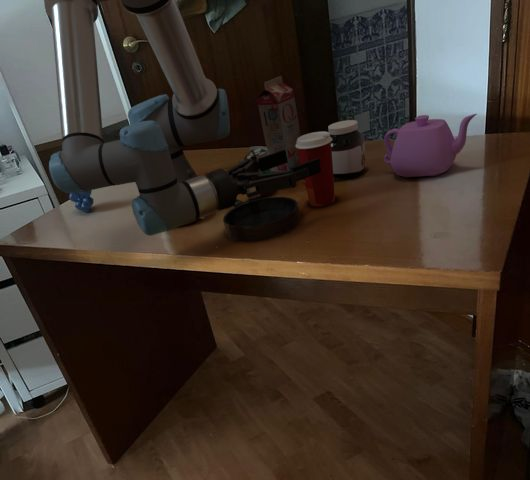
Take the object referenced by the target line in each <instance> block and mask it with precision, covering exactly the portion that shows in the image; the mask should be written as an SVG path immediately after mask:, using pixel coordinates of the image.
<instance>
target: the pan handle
mask: <svg viewBox="0 0 530 480" xmlns="http://www.w3.org/2000/svg"><path fill="white" fill-rule="evenodd" d="M247 202H250V201H249V200H244V201H242V200H239V199H237V198H236V203H235V205H234V206H233V208H235V207H237V206H239V205H241V204H244V203H247Z"/></svg>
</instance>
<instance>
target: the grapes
mask: <svg viewBox="0 0 530 480" xmlns="http://www.w3.org/2000/svg"><path fill="white" fill-rule="evenodd" d="M92 191H93V190H89V191H88V192H78V193H69V195H68V200H69V201H71V202H72V203H75V204H74V208H76V209H77V210H78V211H82V212H84V213H89V212H90V211H91V208H92V206H93V205H94V198H93V197H92V196H91V195H92Z"/></svg>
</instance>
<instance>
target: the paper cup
mask: <svg viewBox="0 0 530 480" xmlns="http://www.w3.org/2000/svg"><path fill="white" fill-rule="evenodd" d="M331 141H332V138H331V137H330V134H329V131H314V132H310V133H306V134H303V135H301V137H299V138H298V139H297V144H296V145H295V146H296V148H297V149H298V153H299V158H300V162H301V164H303V163H305V162H308V161H311V160H314V159H316V158H319V159H320V166H321V173H318V174H315V175H313V176H310V177H307V178H305V179H303V180H304V184H305V190H306V194H307V199H308V202H309V205H310V206H311V207H317V208H318V207H324V206H328V205H331V204H333V203H334V202H335V201H336V198H335V197H336V194H335V180H334V179H335V178H334V177H333V164H332V150H331Z"/></svg>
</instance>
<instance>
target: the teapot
mask: <svg viewBox="0 0 530 480" xmlns="http://www.w3.org/2000/svg"><path fill="white" fill-rule="evenodd" d="M477 115H478V113H473V114H470V115H467V116H465V117H464V118H463V119H462V120H461V121H460V123H459V130H458V134H457V137H456V138H455V137H454V134H453V132H452V130H451V128H450V126H449V124H448V122H447V121H446V120H445V119H443V118H433V119H432V118H431V119H429V118H430V115H427V114H422V115H417V116H415V118H414V121H410V122H407V123H405V124H403V125H402V126H401V127H400V128H392V129H390V130H389V131H387V132H386V134H384V138H383V141H384V145H385V148H386V151H387V153H386V154H385V155H384V157H383V161H384V163H386V164H387V165H390V166H391V167H390V168H391V169H392V170H393V172H394V173H395V175H397V176H400V177H403V178H413V177H427V176H428V177H436V176H439V175H440V174H442V173H445V172H446V171H448V170H449V169H450V168H451V166H452V165H453V163H454V162H455V159H456V157H457V155H458V154H459V153H461V151H462V150H463V149H464V147H465V145H466V141H467V134H468V126H469V123H470V122H471V121H472V119H473V118H475V117H476V116H477ZM392 134H396V137H395V139H394V143H393V146H392V145H391V141H390V136H391V135H392ZM389 157H390V159H389Z"/></svg>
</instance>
